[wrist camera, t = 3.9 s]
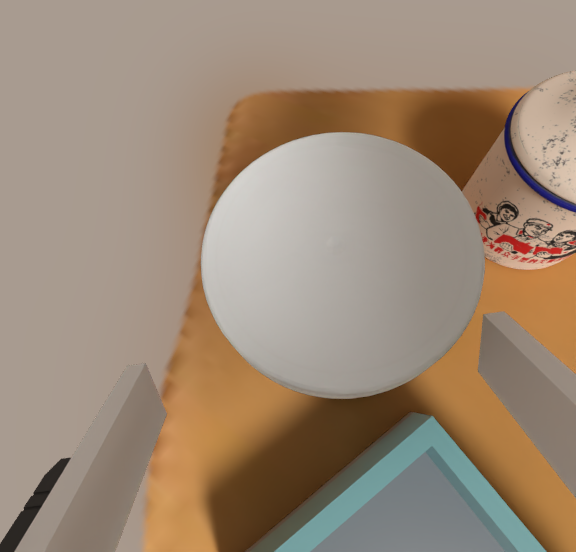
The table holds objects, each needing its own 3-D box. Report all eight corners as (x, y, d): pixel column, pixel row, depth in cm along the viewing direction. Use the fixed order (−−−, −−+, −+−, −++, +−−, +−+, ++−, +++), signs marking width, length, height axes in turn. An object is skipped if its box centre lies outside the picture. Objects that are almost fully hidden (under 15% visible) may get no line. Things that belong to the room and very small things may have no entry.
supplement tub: (360, 244, 27) (399, 85, 13) (426, 359, 24) (569, 309, 10) (245, 297, 26) (159, 189, 13) (297, 420, 23) (258, 458, 9)
